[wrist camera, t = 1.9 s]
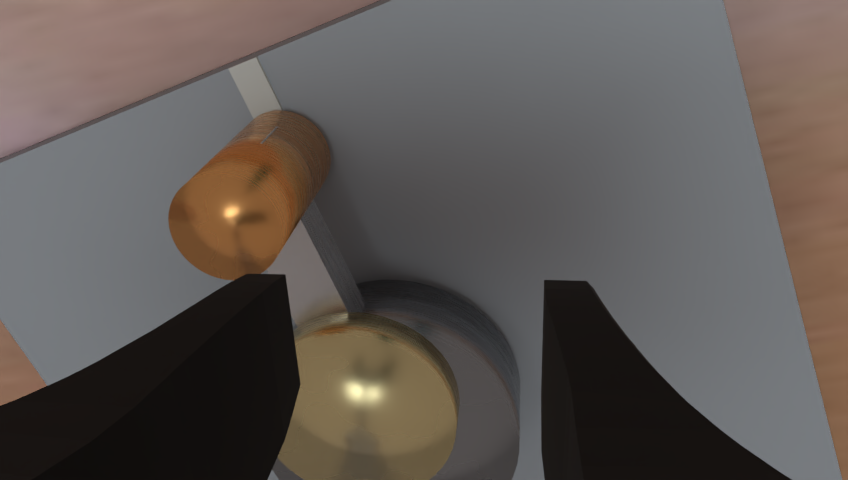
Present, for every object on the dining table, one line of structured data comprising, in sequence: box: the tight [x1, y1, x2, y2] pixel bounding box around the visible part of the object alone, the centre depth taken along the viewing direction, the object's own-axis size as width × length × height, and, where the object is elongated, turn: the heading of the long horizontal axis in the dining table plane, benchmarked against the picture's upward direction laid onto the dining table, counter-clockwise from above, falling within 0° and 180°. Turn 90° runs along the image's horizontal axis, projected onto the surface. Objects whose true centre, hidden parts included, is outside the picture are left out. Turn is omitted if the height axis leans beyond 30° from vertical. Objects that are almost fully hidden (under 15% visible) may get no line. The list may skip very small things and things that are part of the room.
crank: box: [168, 110, 520, 480], centre depth 20 cm, size 12×7×4 cm, turn 22°
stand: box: [0, 0, 842, 480], centre depth 23 cm, size 20×22×1 cm
